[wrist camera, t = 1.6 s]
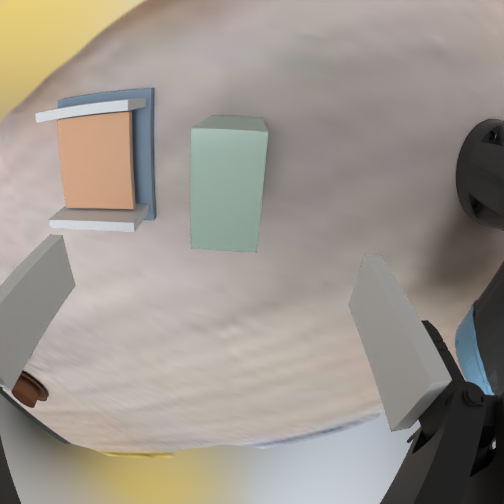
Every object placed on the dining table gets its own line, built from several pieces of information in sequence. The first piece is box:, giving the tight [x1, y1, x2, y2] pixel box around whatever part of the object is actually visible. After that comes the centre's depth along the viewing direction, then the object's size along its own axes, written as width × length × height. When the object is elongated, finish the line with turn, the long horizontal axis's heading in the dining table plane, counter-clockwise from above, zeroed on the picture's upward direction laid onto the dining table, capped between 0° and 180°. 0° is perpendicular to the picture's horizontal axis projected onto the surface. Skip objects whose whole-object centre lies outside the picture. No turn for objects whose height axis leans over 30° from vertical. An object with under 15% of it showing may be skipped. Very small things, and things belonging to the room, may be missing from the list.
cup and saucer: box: [12, 373, 47, 408], centre depth 55 cm, size 12×12×6 cm
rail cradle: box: [36, 88, 156, 232], centre depth 28 cm, size 12×15×6 cm
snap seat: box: [57, 111, 136, 209], centre depth 28 cm, size 9×10×1 cm
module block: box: [190, 115, 268, 253], centre depth 26 cm, size 5×9×12 cm, turn 176°
